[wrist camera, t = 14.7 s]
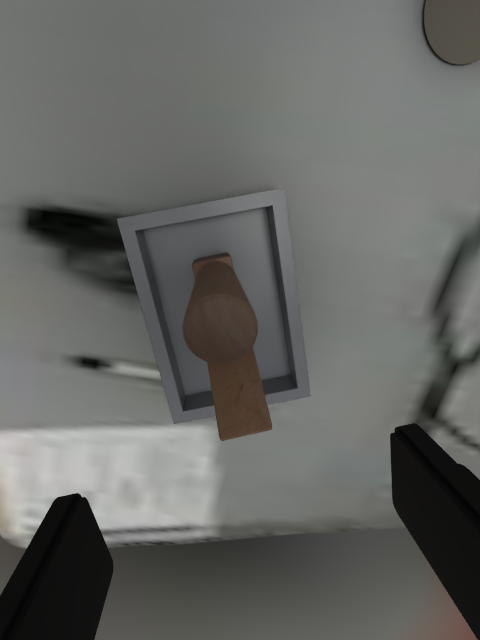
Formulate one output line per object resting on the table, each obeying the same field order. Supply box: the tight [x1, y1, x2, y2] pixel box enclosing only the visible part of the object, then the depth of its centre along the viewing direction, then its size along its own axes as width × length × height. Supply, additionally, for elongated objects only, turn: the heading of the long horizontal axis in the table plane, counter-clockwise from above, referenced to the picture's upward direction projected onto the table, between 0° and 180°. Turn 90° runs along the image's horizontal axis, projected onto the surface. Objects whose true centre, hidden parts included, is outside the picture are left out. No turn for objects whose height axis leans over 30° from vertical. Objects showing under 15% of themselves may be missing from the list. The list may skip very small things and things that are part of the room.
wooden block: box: [182, 253, 272, 441], centre depth 24 cm, size 4×11×18 cm, turn 12°
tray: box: [117, 188, 311, 424], centre depth 32 cm, size 20×14×4 cm
